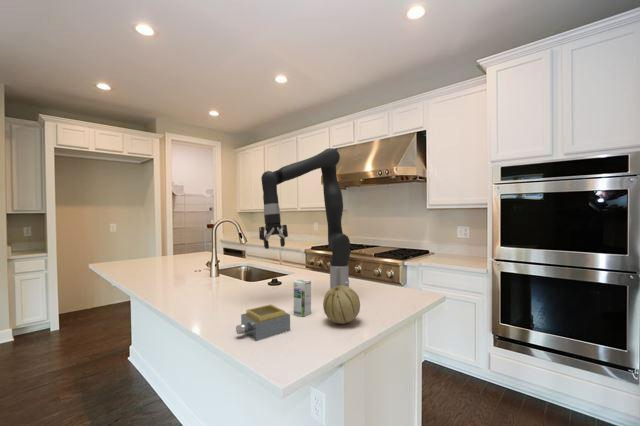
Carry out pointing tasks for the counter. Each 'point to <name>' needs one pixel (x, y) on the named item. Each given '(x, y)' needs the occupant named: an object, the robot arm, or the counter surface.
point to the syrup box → (302, 297)
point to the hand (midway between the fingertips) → (275, 247)
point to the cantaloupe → (341, 304)
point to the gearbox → (264, 322)
